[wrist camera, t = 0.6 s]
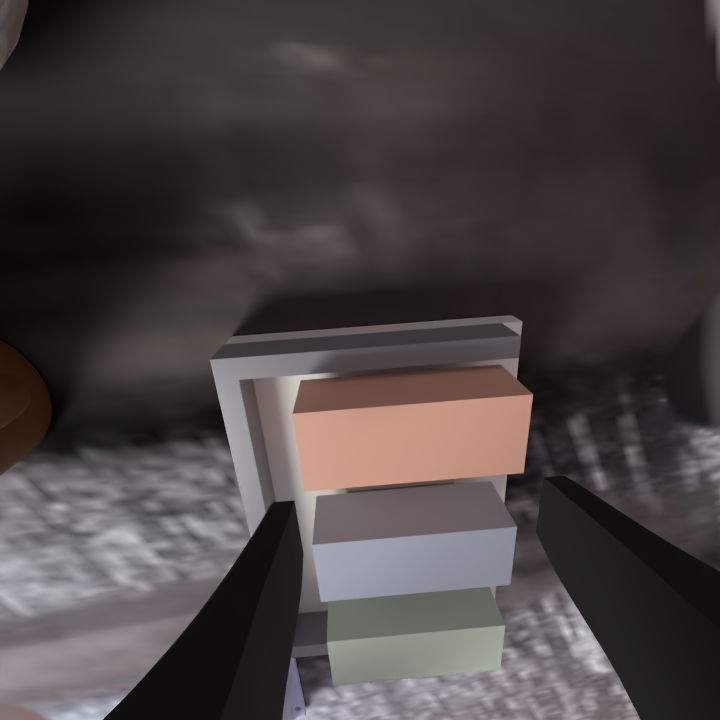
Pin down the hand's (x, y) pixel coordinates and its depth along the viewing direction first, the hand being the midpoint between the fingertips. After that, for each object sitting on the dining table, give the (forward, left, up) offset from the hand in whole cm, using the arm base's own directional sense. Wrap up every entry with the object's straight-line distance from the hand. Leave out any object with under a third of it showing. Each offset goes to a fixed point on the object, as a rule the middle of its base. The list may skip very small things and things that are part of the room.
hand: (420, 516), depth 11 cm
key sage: (-13, -1, -7) cm, 15 cm away
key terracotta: (0, -1, -7) cm, 7 cm away
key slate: (-7, -1, -7) cm, 10 cm away
